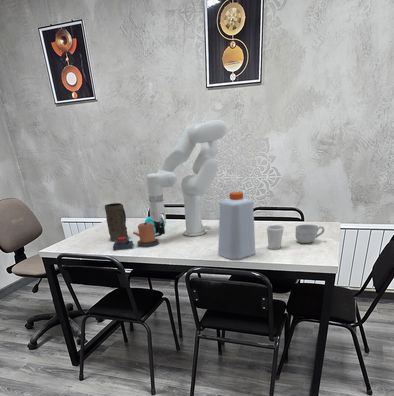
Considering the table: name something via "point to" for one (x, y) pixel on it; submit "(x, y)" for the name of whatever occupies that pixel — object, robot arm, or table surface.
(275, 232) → the dixie cup
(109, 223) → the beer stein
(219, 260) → the table surface
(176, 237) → the table surface
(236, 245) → the plastic bottle
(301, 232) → the teacup
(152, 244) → the base
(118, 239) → the button
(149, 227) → the kettle
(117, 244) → the switch box
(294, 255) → the table surface
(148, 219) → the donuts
